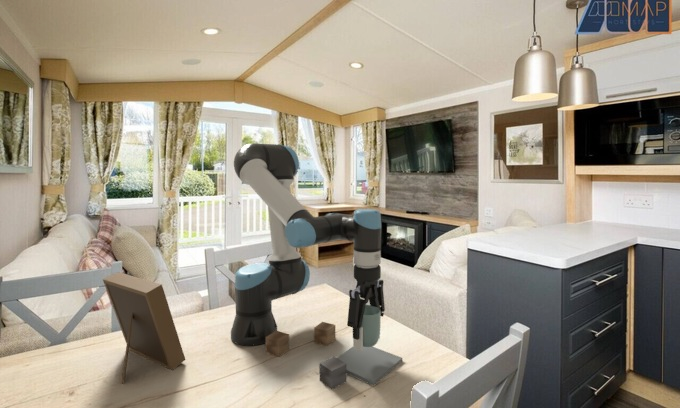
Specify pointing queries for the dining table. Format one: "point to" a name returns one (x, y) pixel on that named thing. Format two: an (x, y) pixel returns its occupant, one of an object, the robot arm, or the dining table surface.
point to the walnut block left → (324, 333)
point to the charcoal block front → (332, 372)
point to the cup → (371, 325)
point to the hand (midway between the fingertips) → (366, 342)
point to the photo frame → (144, 319)
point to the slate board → (369, 363)
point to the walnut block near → (277, 343)
